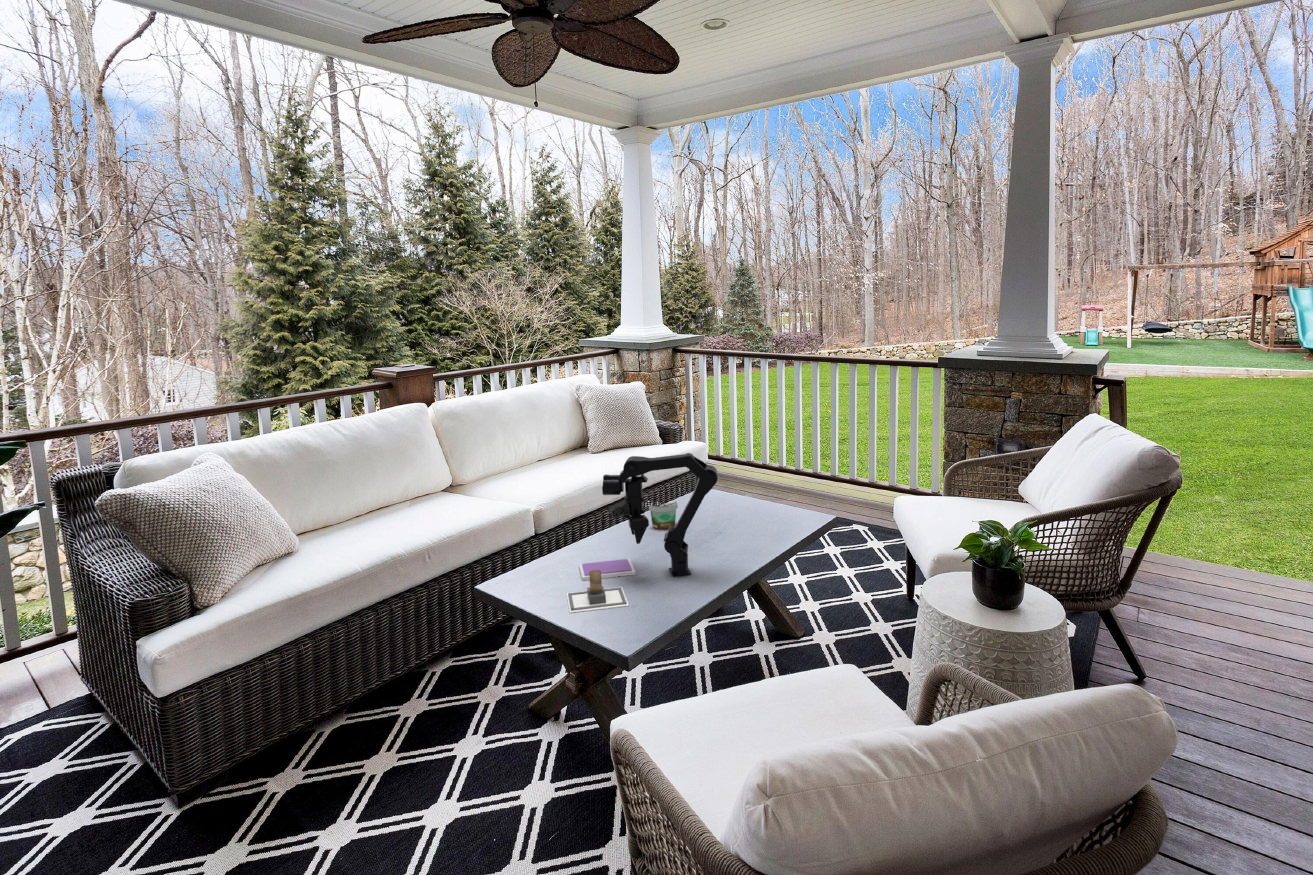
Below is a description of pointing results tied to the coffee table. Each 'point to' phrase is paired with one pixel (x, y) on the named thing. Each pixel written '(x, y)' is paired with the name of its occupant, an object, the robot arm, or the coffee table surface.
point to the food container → (663, 515)
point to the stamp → (596, 588)
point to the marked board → (581, 603)
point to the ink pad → (608, 568)
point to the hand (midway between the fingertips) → (635, 538)
